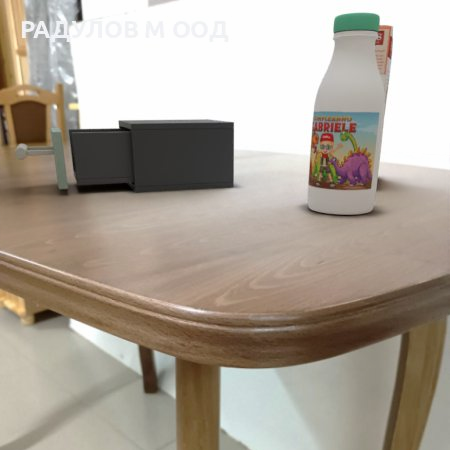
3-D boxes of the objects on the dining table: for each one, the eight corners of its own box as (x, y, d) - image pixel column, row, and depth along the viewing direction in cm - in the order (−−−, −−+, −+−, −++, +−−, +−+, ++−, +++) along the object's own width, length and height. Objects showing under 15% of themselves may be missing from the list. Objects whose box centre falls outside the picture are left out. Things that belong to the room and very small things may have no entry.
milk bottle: (320, 201, 62) (333, 23, 55) (381, 207, 59) (404, 17, 51) (296, 211, 56) (307, 13, 49) (362, 219, 53) (385, 5, 45)
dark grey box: (135, 192, 68) (130, 123, 65) (122, 180, 79) (118, 120, 76) (233, 187, 72) (234, 122, 69) (208, 175, 84) (208, 119, 80)
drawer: (19, 191, 64) (9, 132, 61) (22, 179, 74) (14, 128, 71) (158, 184, 69) (155, 130, 67) (144, 173, 79) (141, 126, 77)
